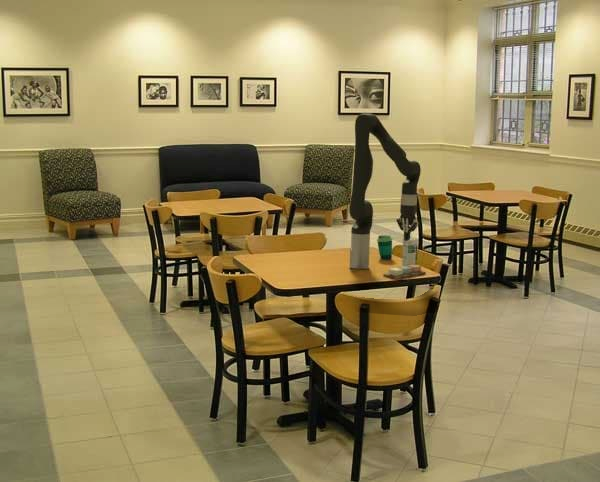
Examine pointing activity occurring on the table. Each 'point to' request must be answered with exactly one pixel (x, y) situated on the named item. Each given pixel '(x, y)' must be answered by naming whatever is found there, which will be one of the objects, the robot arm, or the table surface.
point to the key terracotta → (415, 268)
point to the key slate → (406, 269)
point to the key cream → (395, 271)
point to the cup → (385, 247)
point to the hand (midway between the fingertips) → (406, 239)
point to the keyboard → (405, 275)
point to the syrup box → (409, 252)
